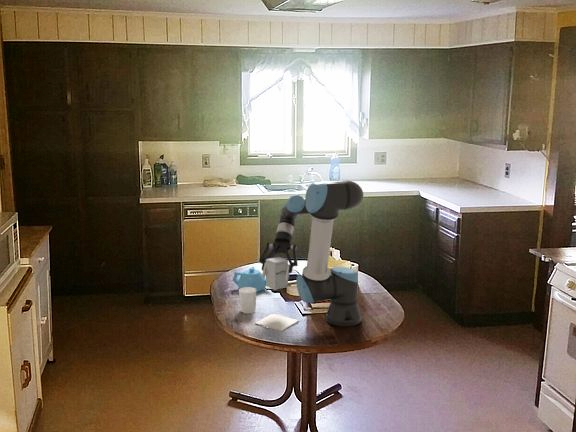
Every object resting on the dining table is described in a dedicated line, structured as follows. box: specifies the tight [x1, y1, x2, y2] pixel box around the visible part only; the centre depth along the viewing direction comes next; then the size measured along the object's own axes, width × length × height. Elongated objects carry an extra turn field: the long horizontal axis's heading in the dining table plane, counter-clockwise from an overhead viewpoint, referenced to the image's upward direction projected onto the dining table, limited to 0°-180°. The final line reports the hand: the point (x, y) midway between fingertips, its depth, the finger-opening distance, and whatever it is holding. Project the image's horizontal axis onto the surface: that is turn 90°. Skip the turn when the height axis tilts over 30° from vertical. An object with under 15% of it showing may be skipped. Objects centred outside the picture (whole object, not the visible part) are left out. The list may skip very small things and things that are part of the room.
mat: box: [254, 313, 300, 333], centre depth 266 cm, size 14×13×1 cm
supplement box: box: [265, 256, 289, 291], centre depth 274 cm, size 7×7×13 cm
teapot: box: [231, 266, 267, 293], centre depth 308 cm, size 15×15×11 cm
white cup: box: [238, 287, 257, 314], centre depth 279 cm, size 8×8×10 cm
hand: (274, 278), depth 272 cm, fingers closed on supplement box, 10 cm apart
